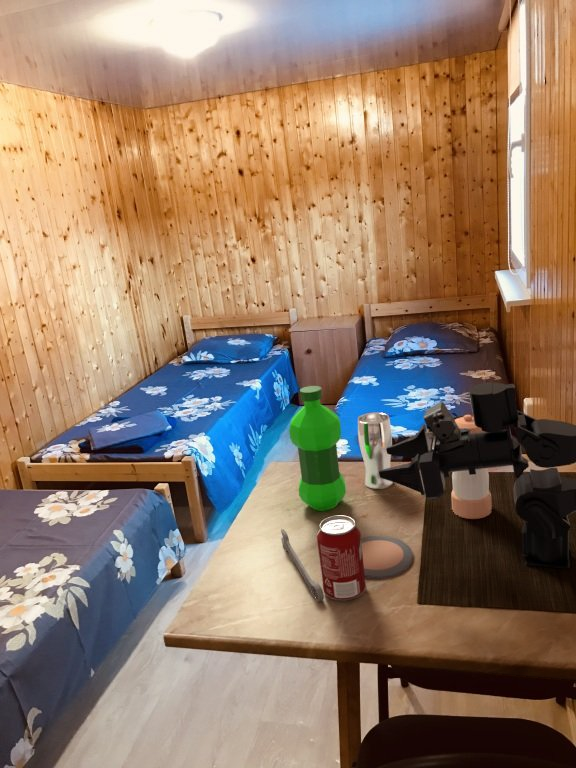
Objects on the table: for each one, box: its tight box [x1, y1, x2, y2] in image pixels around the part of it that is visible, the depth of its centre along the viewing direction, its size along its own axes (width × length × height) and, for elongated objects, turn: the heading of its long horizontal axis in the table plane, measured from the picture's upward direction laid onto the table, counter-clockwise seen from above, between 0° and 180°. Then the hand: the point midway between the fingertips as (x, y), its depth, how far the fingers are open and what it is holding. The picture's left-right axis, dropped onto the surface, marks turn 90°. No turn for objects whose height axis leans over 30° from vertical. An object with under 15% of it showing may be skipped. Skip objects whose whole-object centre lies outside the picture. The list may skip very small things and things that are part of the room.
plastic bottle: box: [288, 385, 347, 512], centre depth 123 cm, size 10×10×25 cm
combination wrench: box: [280, 528, 325, 603], centre depth 105 cm, size 4×1×20 cm
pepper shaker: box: [450, 414, 493, 520], centre depth 115 cm, size 7×7×19 cm
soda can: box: [316, 514, 366, 601], centre depth 97 cm, size 7×7×12 cm
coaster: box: [361, 535, 414, 579], centre depth 106 cm, size 12×12×1 cm
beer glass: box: [357, 411, 394, 490], centre depth 131 cm, size 7×7×15 cm
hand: (383, 462), depth 104 cm, fingers open, 9 cm apart
